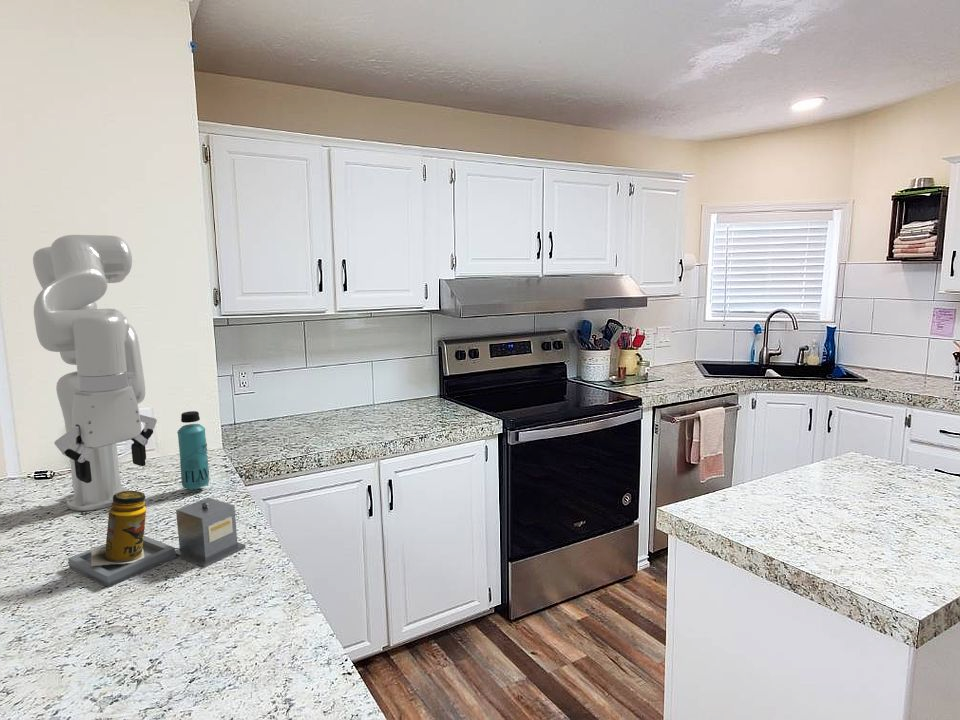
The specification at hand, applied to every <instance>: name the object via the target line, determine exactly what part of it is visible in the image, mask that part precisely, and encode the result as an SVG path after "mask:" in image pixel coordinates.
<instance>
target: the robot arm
mask: <svg viewBox="0 0 960 720" xmlns="http://www.w3.org/2000/svg"><path fill="white" fill-rule="evenodd" d="M32 264H33V268H34V273H35V276H36V279H37V280H38V282H39V284H40V287H41V288H42V290H41V291H40V292H39V293H38V294H37V296H36V299H35V300H34V305H33V318H34V326H35V332H36V336H37V339H38V342H39V343H40V345H41V347H43V349H45V350H46V351H49V352H56V353H59V354H60V357H61V360H62V361H63V362H64V363H65V364H68V365H72V366H76V371H72V372H69V373H68V372H67V373H66V374H64V375H61V377H59V379H58V380H57V382H56V387H55V388H56V395H57V399H58V403H59V405H60V409H61V413H62V416H63V420H64V426H65V431H66V432H65V433H64V434H63V435H61V436H60V437H58V438H57V439H56V440H55V441H54V445H55V446H56V448H57V449H58V450H59V451H60V452H61V454H62V455H64V456H65V457H67V458H68V459H69V465H70V473H71V481H72V482H71V488H72V490H73V491H72V492H73V496H71V497H69V498H68V500H66V506H67V509H69V510H73V511H80V512H81V511H83V512H84V511H95V510H99V509H100V510H101V509H104V508H109V507H112V502H113V496H114V495H115V494H116V493H119V492H122V491H130V490H129V489H128V488H126V487H123V486H122V483H121V475H120V474H121V471H120V466H119V463H120V462H119V454H118V447H117V446H118V445H117V444H119V443H123V442H127V441H132V442H133V443H131V445H130V447H131V449H130V450H131V459H132V464H134V465H136V466H139V467H145V466H146V464H147V463H146V459H147V451H146V445H148V444H149V440H150V438H151V437H152V435H153V434H154V429H155V428H156V424H157V420H158V419H157V418H155V417H154V418H153V417H150V416H146V415H144V414H143V415H142V414H141V413H140V410H139V406H138V405H139V404H141V403H142V402H143V401H144V400H145V397H146V382H145V376H144V369H143V363H142V361H143V360H142V355H141V348H140V344H139V343H140V342H139V338H138V335H137V334H138V333H137V332H136V330H135V328H134V327H133V326H132V325H131V324H130V323H129V321H128V318H127V316H125V314H123V313H122V311H120V310H118V309H115V308H98V305H97V301H98V300H100V299H102V298H103V297H104V295H105V293H106V292H107V289H108V284H117V283H122V281H124V280H125V279H126V278H127V276H128V275H129V274H130V272H131V270H132V266H133V256H132V251H131V249H130V247H129V245H128V243H127V242H126V241H125V240H124V239H123V238H122V237H120V236H117V235H108V234H107V235H101V234H94V235H93V234H68V235H67V234H66V235H63V236H61V237H58V238H57V239H55V240H54V241H53V242H52V244H51V246H46V247H42V248H39V249H37V250H36V251H35V252H34V253H33V257H32ZM142 423H144V428H143V429H142Z"/></svg>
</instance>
